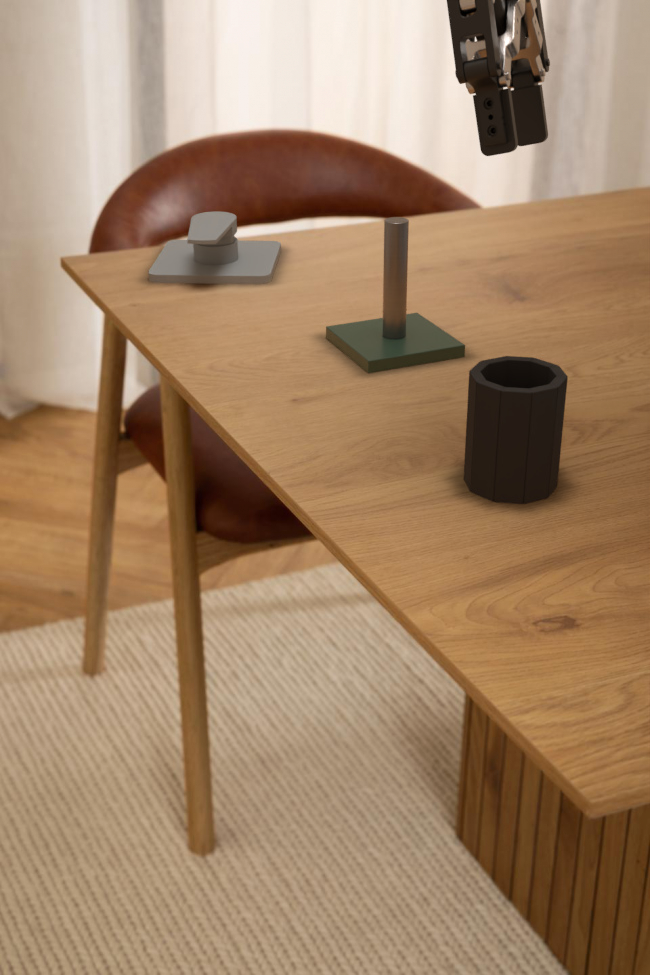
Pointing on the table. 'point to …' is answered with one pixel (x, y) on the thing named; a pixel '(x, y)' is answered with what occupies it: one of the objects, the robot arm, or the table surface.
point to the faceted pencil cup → (514, 429)
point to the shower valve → (215, 255)
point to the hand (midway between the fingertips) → (517, 148)
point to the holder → (394, 319)
